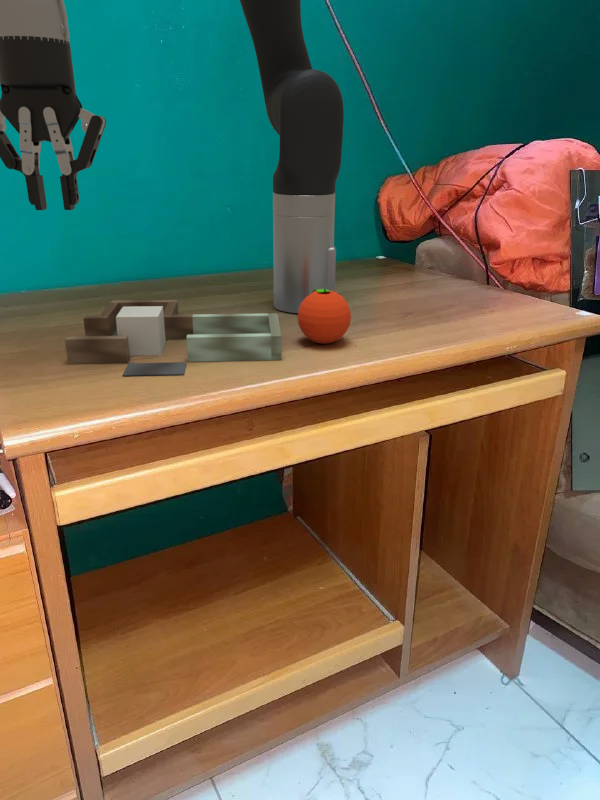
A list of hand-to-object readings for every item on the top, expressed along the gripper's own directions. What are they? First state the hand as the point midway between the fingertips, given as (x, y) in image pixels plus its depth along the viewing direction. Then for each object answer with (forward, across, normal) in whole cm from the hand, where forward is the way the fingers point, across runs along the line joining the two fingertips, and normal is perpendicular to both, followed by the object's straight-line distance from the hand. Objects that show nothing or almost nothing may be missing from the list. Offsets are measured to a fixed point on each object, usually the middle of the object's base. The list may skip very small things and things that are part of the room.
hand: (55, 208), depth 73 cm
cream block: (+17, -8, 0) cm, 19 cm away
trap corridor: (+17, -13, -2) cm, 22 cm away
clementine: (+17, -32, -2) cm, 36 cm away
